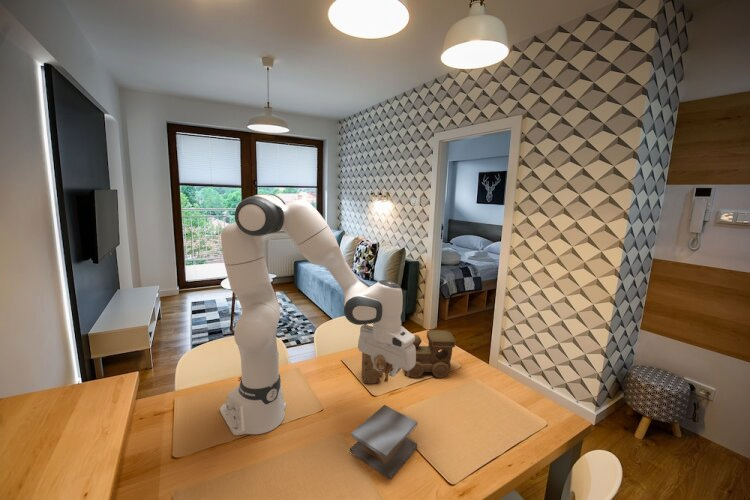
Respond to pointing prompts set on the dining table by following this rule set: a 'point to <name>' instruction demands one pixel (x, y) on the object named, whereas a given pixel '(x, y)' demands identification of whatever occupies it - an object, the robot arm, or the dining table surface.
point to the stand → (384, 441)
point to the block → (369, 370)
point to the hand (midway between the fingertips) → (384, 372)
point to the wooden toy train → (433, 354)
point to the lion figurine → (384, 367)
